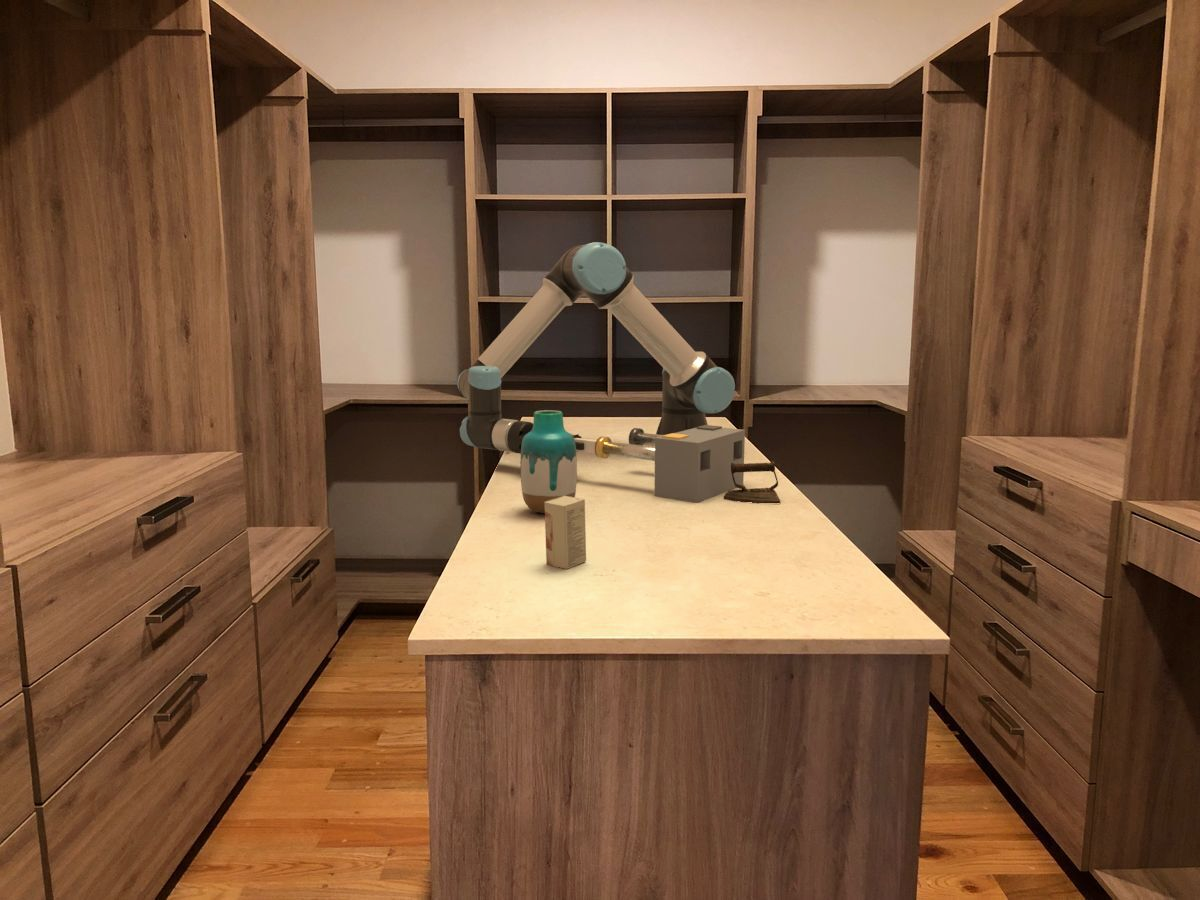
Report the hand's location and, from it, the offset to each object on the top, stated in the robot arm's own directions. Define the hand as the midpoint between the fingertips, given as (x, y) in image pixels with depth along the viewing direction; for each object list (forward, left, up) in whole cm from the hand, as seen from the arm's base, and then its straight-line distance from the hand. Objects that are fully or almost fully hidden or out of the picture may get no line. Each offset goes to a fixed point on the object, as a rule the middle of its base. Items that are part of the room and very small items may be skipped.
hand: (598, 447), depth 191 cm
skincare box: (+49, +29, -8) cm, 57 cm away
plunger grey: (-14, +10, -2) cm, 18 cm away
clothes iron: (-6, +33, -8) cm, 35 cm away
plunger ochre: (0, +11, -2) cm, 11 cm away
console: (-7, +21, -8) cm, 24 cm away
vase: (+26, +7, -8) cm, 28 cm away
